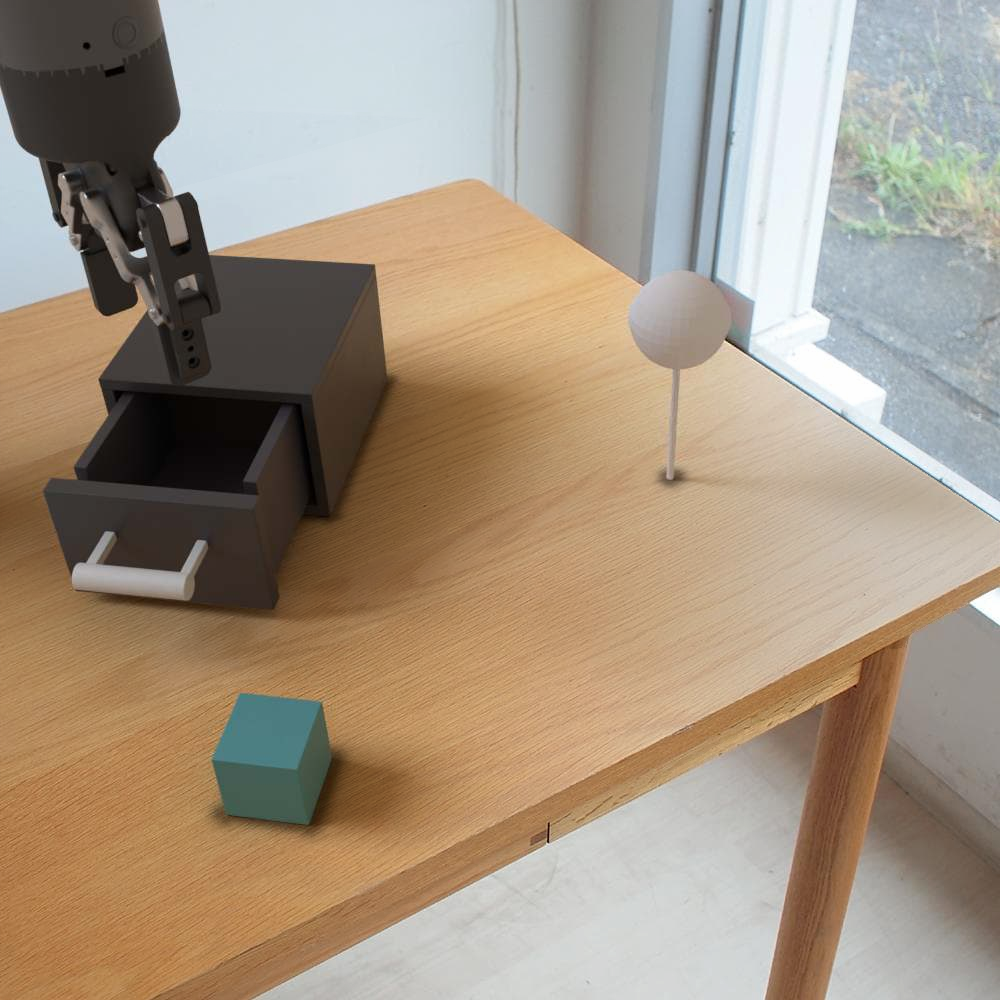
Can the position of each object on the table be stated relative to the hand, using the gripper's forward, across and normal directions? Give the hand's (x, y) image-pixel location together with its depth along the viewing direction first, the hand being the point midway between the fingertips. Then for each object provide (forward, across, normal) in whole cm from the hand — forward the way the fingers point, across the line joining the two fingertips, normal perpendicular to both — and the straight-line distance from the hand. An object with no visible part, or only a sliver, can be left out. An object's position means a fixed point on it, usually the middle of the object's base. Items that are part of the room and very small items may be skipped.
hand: (153, 342), depth 68 cm
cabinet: (+18, -12, +10) cm, 24 cm away
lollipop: (+18, +9, +29) cm, 35 cm away
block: (+18, +15, -4) cm, 24 cm away
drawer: (+17, -3, +1) cm, 17 cm away
